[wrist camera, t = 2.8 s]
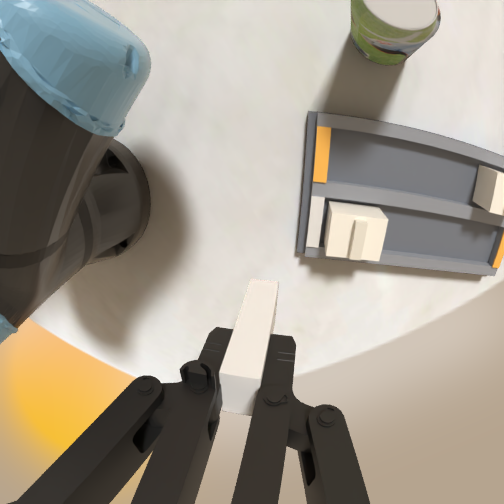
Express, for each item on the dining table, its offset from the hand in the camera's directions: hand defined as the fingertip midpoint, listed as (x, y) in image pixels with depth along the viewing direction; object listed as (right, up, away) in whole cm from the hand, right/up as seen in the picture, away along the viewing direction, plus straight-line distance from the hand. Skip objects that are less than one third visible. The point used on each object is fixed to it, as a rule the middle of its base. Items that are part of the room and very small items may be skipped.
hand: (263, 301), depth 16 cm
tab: (+9, +5, +11) cm, 15 cm away
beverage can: (+11, +23, +4) cm, 25 cm away
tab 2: (+25, +10, +6) cm, 27 cm away
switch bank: (+17, +8, +10) cm, 21 cm away
